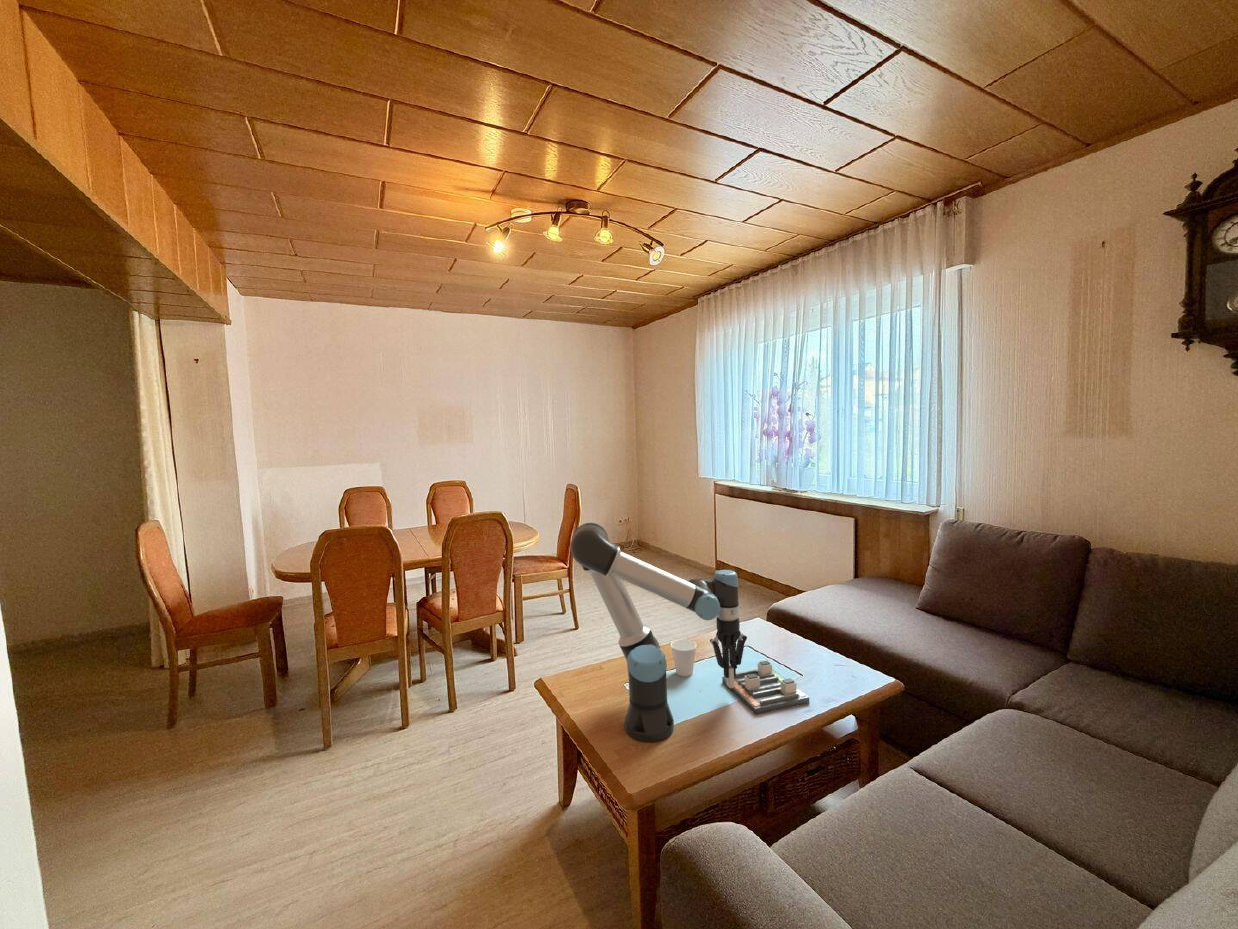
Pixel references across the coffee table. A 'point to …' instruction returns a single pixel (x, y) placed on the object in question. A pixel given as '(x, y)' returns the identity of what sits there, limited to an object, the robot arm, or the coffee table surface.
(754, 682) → the block
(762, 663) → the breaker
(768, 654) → the coffee table surface
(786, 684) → the block
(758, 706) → the panel
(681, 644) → the cup
